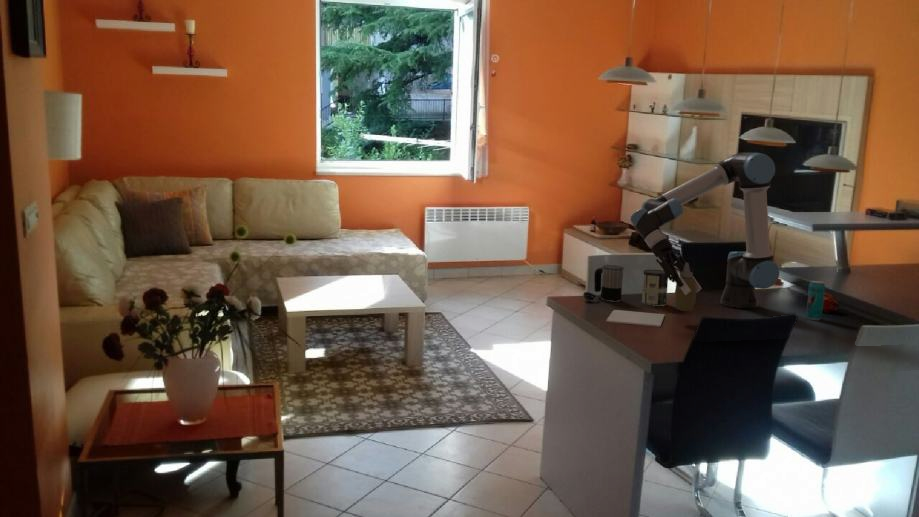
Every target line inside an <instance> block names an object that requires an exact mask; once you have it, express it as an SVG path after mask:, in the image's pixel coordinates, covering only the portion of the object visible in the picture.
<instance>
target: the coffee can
mask: <svg viewBox="0 0 919 517" xmlns="http://www.w3.org/2000/svg"><path fill="white" fill-rule="evenodd" d="M642 279H643V280H642V298H641V304H642V303H644V304H648V305H653V306H652V307H654V306H662V307H666V306H667V304H668V303H667V300H668V299H667V298H668V280H669V278H668V277H667V275H666V273H665V272H664V270H663V269H644V270H643V278H642ZM665 305H666V306H665Z"/></svg>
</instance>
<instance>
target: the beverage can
mask: <svg viewBox="0 0 919 517" xmlns="http://www.w3.org/2000/svg"><path fill="white" fill-rule="evenodd" d="M825 288H826V286H825V281H823V280H809V284H808V292H807V293H808V294H807V301H806V302H807V304H806V317H807V319H808V320H811V321H820V320H821V319H822V317H823V312H824V311H823V302H824V292H825V290H826V289H825Z"/></svg>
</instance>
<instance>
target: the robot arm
mask: <svg viewBox="0 0 919 517" xmlns="http://www.w3.org/2000/svg"><path fill="white" fill-rule="evenodd" d="M775 174H776V166H775V162H774V160H773V159H772V158H771V157H770V156H769V155H767V154H765V153H761V152H747V151H746V152H745V151H743V152H738V153H735V154H733V155H731V156H729V157H727V158H725V159H723V160H721V161H719V162H717V163H716V164H714V166H713V168H711V169H709V170H708V171H705V172H704V173H701V174H699V175H698V176H695V177H694V178H692V179H690V180H688V181H686V182H684V183H682V184H680V185H679V186H676V187H675V188H673V189H671V190H669V191H667V192H665V193H663V194H661V195H659V196H657V197H654V198H648V199H645V201H644V202H643V203H642V205H641V208H639V209H638V210H636V211H634V212H633V213H632V214H631V216H630V222H631V224H632V225H633V227H634V229H635V230H636V231H637V232H638V234H639V235H640V236H641V237H642V239H643V240H644V242H645V243H646V244H647V246H648V248H649V249H650V250H651V252H652V253H653V255H654V256H655V257H656V258H657V259H655V261H656V262H657V263H658V264H659V266H660V267H661V270H664V272H665V273H666V275H667V277H668V280H669V281H671V282H672V283H675V284H676V283H677V284H678V286H679V287H680V288H681V290H682V291H683V293H684V294H685V295H687V294H688V293H689V292H691V290H690V288H689V287H688V285H687V284H686V283H685V281H684V280H683V279H682V277H680V274H679V273H680V272H682V271H683V269H684V265H685V263H688V262H687V261H686V259H684V257H683V255H682V253H681V252H677V253H676V252H675V251H674V250H673V244H672V242H671V241H670V240H669V239H668V238H667V236H666V234H665V233H664V232H663V231H662V229H661V227H662V226H665V225H666V224H669V223H670V222H671V221H673V220H675V219H676V220H677V218H679V217H680V216H682V215H683V213H684V208H683V205H685V204H687V203H689V202H691V201H692V200H694V199H697V198H699V197H700V196H702V195H704V194H706V193H708V192H710V191H712V190H714V189H716V188H719V186H721V185H723V186H727V185H729V184H732V183H735V182H738V185H739V186H738V188H739V189H740V191H742V193H743V206H744V208H743V209H744V225H745V226H744V227H745V229H744V230H745V247H746V248H745V249H746V250H745V251H730V252H729V253H728V255H727V265H726V276H725V278H726V280H725V283H726V284H725V287H724V290H723V293H722V294H721V297H720V299H719V300H720V301H719V304H720V303H721V304H722V305H721V304H720V305H721V306H723V305H724V307H727V306H729V307H728V308H732V307H736V308H735V309H741V308H752V309H756V308H758V307H759V300H758V299H759V298H758V296H757V292H756V289H761V290H762V289H763V290H764V289H769V288H771V287H773V286H774V285H775V283H777V282H778V279H779V277H780V268H779V266H778V265H777V263H775V262H774V261H775V258H774V253H773V252H772V251H771V250H770V240H769V237H770V236H769V220H768V219H769V218H768V214H769V213H768V196H767V192H768V189H770V188H771V180H772V179H773V177H775ZM689 269H690V272H692V273H693V274H695V270H693V268H692V267H691V266H690V265H689ZM677 270H678V271H677ZM678 272H679V273H678ZM679 277H680V278H679ZM692 278H694V279H695V292H696V294H697V293H699V292H700V291H701V290H702V289H703V288H702V287H701V285H700V283H699V282H698V281H697V279H696V278H695V277H694V276H693V277H692Z"/></svg>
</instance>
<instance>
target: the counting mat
mask: <svg viewBox="0 0 919 517" xmlns="http://www.w3.org/2000/svg"><path fill="white" fill-rule="evenodd" d="M665 315H666V314H665V313H664V314H663V313H652V312H642V311H632V310H631V311H629V310H619V309H613V311H611V313H610V315H609V316H608V317H607V318H606V321H605V322H606V323H613V324H614V323H615V324H624V325H625V324H626V325H636V326H645V327H646V326H647V327H656V328H661V326H662V324H663V322H664V319H665V317H666V316H665Z"/></svg>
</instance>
